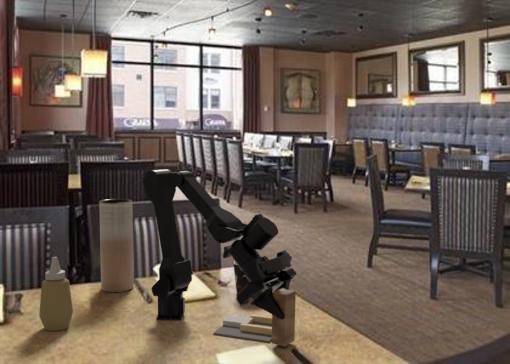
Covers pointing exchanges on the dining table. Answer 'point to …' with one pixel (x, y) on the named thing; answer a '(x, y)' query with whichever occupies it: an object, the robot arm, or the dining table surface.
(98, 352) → the dining table surface
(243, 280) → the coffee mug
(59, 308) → the squeeze bottle
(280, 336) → the wooden block
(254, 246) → the robot arm
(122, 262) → the vase
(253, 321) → the underlay
